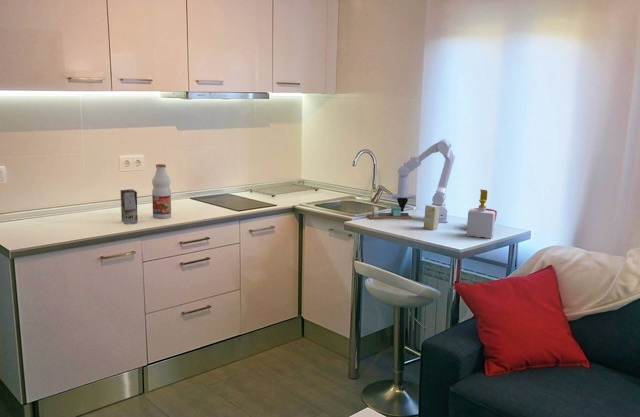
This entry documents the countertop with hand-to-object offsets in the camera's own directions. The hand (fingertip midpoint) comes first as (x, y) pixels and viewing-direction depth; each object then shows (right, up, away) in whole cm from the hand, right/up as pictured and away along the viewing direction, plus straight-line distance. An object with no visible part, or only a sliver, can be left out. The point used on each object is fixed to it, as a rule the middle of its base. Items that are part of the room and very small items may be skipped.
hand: (401, 211), depth 327 cm
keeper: (-3, -2, 0) cm, 4 cm away
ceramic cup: (+38, -9, -21) cm, 45 cm away
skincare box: (+12, -9, -25) cm, 29 cm away
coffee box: (-142, -6, -30) cm, 145 cm away
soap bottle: (+33, -12, -38) cm, 52 cm away
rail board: (-7, -3, -1) cm, 8 cm away
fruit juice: (-129, -3, -17) cm, 130 cm away
